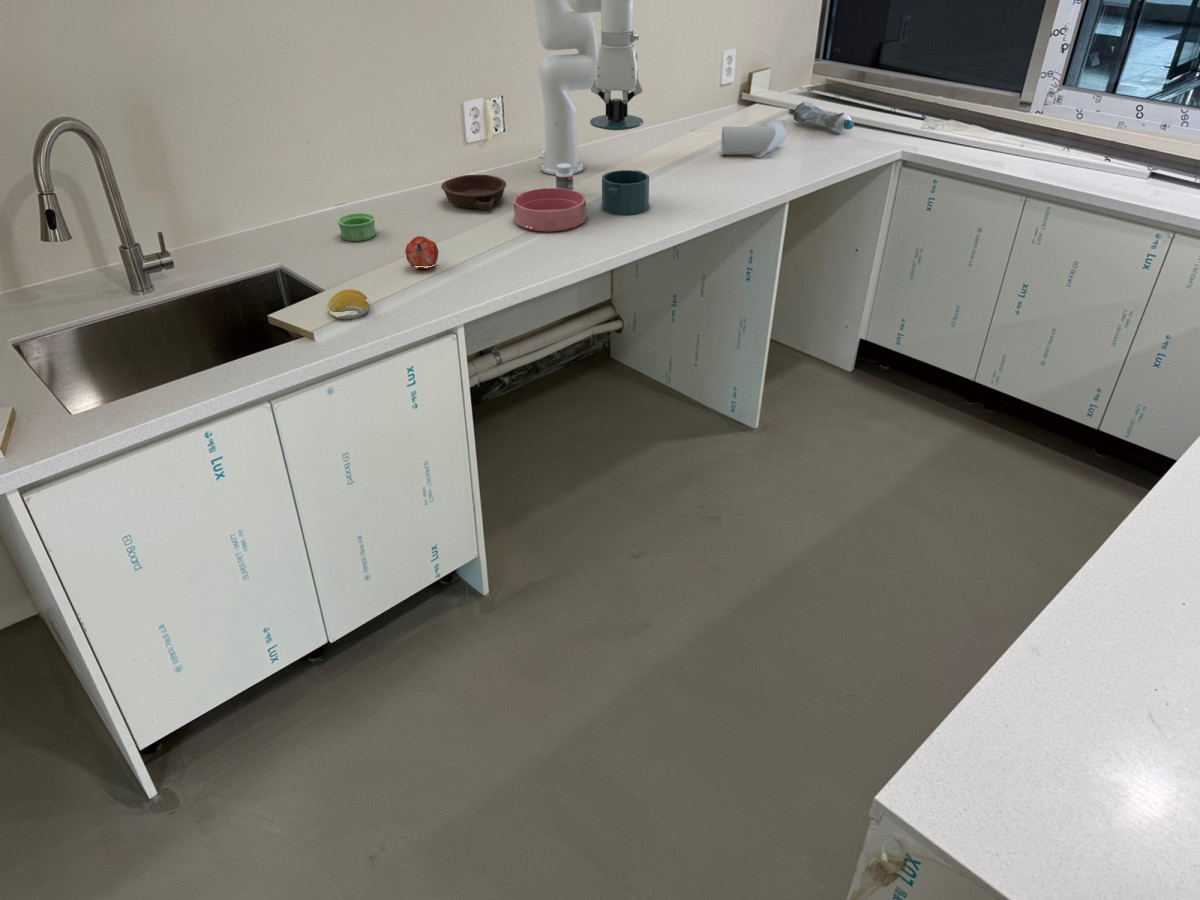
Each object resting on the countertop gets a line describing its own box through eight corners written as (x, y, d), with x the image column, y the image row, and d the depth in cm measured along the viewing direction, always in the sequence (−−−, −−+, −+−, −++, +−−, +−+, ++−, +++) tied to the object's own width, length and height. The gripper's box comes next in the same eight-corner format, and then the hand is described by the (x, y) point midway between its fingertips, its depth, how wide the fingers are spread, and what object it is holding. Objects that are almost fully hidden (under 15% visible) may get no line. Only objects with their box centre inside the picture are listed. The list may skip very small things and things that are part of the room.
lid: (581, 129, 210) (581, 103, 206) (602, 116, 220) (602, 91, 216) (631, 134, 206) (631, 108, 202) (650, 121, 216) (651, 96, 212)
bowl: (500, 222, 217) (498, 201, 214) (548, 203, 229) (547, 183, 226) (552, 238, 207) (551, 216, 204) (600, 218, 219) (600, 197, 216)
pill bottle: (571, 199, 232) (570, 168, 227) (554, 198, 233) (553, 167, 228) (575, 193, 236) (574, 163, 231) (558, 192, 236) (557, 162, 232)
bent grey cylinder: (765, 160, 255) (791, 145, 269) (762, 124, 250) (788, 110, 264) (713, 165, 265) (740, 150, 279) (709, 130, 260) (736, 116, 274)
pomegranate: (410, 271, 197) (395, 260, 187) (417, 241, 197) (402, 228, 187) (440, 277, 196) (426, 266, 186) (447, 246, 196) (434, 234, 186)
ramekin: (343, 230, 213) (340, 213, 211) (379, 228, 214) (376, 211, 211) (337, 243, 206) (334, 225, 203) (374, 241, 207) (372, 224, 204)
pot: (590, 214, 221) (589, 184, 217) (617, 194, 235) (617, 165, 230) (633, 220, 217) (634, 190, 213) (658, 200, 230) (659, 170, 226)
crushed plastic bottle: (785, 122, 297) (832, 137, 278) (789, 101, 293) (837, 114, 275) (815, 121, 302) (862, 136, 284) (818, 100, 299) (867, 113, 280)
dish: (454, 219, 219) (452, 200, 217) (434, 194, 236) (432, 176, 233) (518, 209, 225) (517, 191, 222) (494, 186, 242) (492, 168, 239)
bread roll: (367, 299, 179) (364, 281, 177) (371, 317, 172) (368, 299, 170) (327, 304, 177) (323, 286, 175) (329, 322, 170) (325, 304, 168)
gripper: (652, 37, 203) (650, 116, 214) (586, 35, 205) (587, 114, 216) (648, 42, 197) (646, 124, 208) (580, 41, 199) (582, 122, 210)
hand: (616, 118), depth 212 cm, fingers closed on lid, 2 cm apart
